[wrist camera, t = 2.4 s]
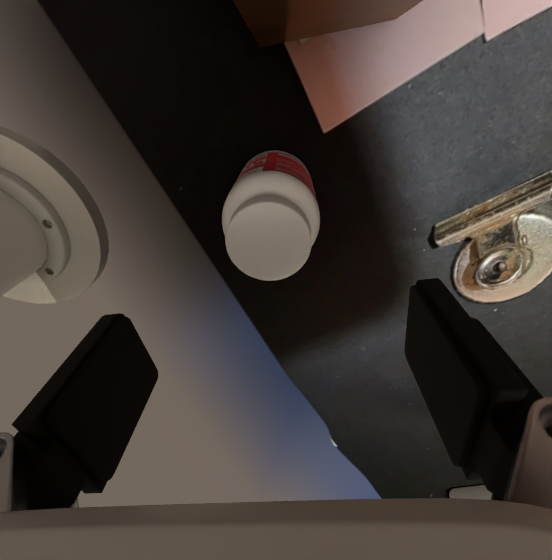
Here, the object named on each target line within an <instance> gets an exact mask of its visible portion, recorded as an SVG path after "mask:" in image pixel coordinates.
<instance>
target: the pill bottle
mask: <svg viewBox="0 0 552 560" xmlns="http://www.w3.org/2000/svg"><path fill="white" fill-rule="evenodd" d="M222 226H223V231H224V234H225V243H226V249H227V252H228V255H229V257H230V258H231V260H232V262H233V263H234V264H235V265H236V266H237V268H239V269H240V270H241V271H242V272H244V273H245V274H247V275H249V276H251V277H253V278H256V279H260V280H280V279H283V278H286V277H289V276H290V275H292V274H294V273H296V272H297V271H298V270H299V269H300V268H301V267H302V266H303V265H304V264H305V262H306V261H307V259H308V257H309V254H310V251H311V247H312V245H313V244H314V242H315V240H316V238H317V235H318V231H319V226H320V213H319V208H318V204H317V200H316V196H315V192H314V188H313V184H312V180H311V177H310V174H309V172H308V170H307V169H306V167H305V166H304V164H303V163H302V162H301V161H300V160H299V159H298V158H296V157H295V156H293V155H291V154H289V153H287V152H283V151H276V150H273V151H266V152H263V153H260V154H258V155H257V156H255V157H253V158H252V159H251V160H250V161H249V162H248V163H247V164H246V165H245V167H244V168H243V170H242V172H241V173H240V175H239V177H238V179H237V180H236V182H235V184H234V185H233V187H232V189H231V191H230V193H229V194H228V196H227V199H226V201H225V204H224V207H223V212H222Z"/></svg>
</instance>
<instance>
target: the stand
mask: <svg viewBox="0 0 552 560" xmlns="http://www.w3.org/2000/svg"><path fill="white" fill-rule="evenodd" d="M421 1H423V0H233V2H234V3H235V5H236V7H237V9H238V10H239V12H240V14H241V15H242V17H243V19H244V21H245V22H246V24H247V26H248V28H249V29H250V31H251V33H252V35H253V36H254V38H255V40H256V42H257V43H258V45H259V47H260V48H261V47H266V46H270V45H275V44H280V43H285V42H289V41H294V40H299V39H304V38H308V37H313V36H318V35H322V34H327V33H332V32H337V31H341V30H346V29H351V28H356V27H360V26H365V25H370V24H374V23H379V22H384V21H389V20H393V19H396V18H398V17H399V16H401V15H402V14H404V13H405V12H407V11H408V10H409V9H411V8H412V7H414V6H415V5H417V4H418V3H420V2H421Z"/></svg>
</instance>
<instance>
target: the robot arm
mask: <svg viewBox="0 0 552 560" xmlns="http://www.w3.org/2000/svg"><path fill="white" fill-rule="evenodd" d="M69 257H70V242H69V237H68V234H67V231H66V228H65V226H64V224H63V222H62V220H61V218H60V216H59V215H58V214H57V212H56V211H55V209H54V208H53V207H52V205H51V204H50V203H49V202H48V201H47V200H46V199H45V198H44V197H43V196H42V195H41V193H39V192H38V191H37V190H36V189H35V188H33V187H32V186H31V185H30V184H28V183H27V182H26V181H24V180H23V179H21V178H19V177H18V176H16V175H15V174H13V173H11V172H9V171H7V170H4V169H2V168H0V297H1V296H2V295H4V294H5V293H6V292H8V291H9V290H11V289H12V288H13V287H15V286H20V287H35V286H39V285H43V284H46V283H48V282H50V281H52V280H53V279H54V278H56V277H57V276H58V275H59V274H61V272H62V271H63V270H64V269H65V268H66V266H67V263H68V261H69ZM405 355H406V359H407V361H408V363H409V366H410V368H411V370H412V372H413V375H414V377H415V379H416V382H417V384H418V386H419V388H420V391H421V393H422V395H423V397H424V400H425V402H426V404H427V406H428V409H429V411H430V413H431V416H432V418H433V420H434V422H435V425H436V427H437V429H438V431H439V434H440V436H441V438H442V440H443V443H444V445H445V447H446V450H447V452H448V454H449V456H450V459H451V461H452V462H453V464H454V465H455V466H461V468H462V470H463V472H464V474H465V476H466V479H467V480H473V479H482V480H483V482H484V484H485V486H486V488H487V490H488V491H489V492H491V493H492V496H491V500H480V499H457V498H439V499H359V500H358V499H357V500H356V499H355V500H317V501H316V500H314V501H273V502H239V503H207V504H206V503H205V504H173V505H142V506H114V507H86V508H79V506H78V498H77V497H78V495H79V493H80V491H81V490H82V491H83V492H84V493H102V491H103V489H104V487H105V485H106V483H107V481H108V480H110V479H111V478H112V476H113V475H114V473H115V471H116V469H117V466H118V464H119V462H120V460H121V458H122V456H123V453H124V451H125V449H126V447H127V445H128V442H129V440H130V438H131V436H132V434H133V432H134V429H135V427H136V425H137V423H138V421H139V419H140V416H141V414H142V412H143V410H144V408H145V405H146V403H147V401H148V399H149V397H150V395H151V392H152V390H153V388H154V386H155V384H156V381H157V379H158V370H157V368H156V366H155V364H154V363H153V361H152V359H151V357H150V355H149V353H148V351H147V350H146V348H145V346H144V344H143V342H142V340H141V339H140V337H139V335H138V333H137V331H136V329H135V327H134V326H133V324H132V322H131V320H130V319H129V318H128V317H125V316H124V315H123V314H112V315H104V316H102V318H100V319H99V321H98V322H97V323H96V324H95V325H94V327H93V328H92V329H91V330H90V331H89V333H88V334H87V335H86V336H85V337H84V339H83V340H82V341H81V342H80V344H79V345H78V346H77V347H76V348H75V349H74V351H73V352H72V353H71V354H70V355H69V357H68V358H67V359H66V360H65V361H64V363H63V364H62V365H61V366H60V367H59V368H58V370H57V371H56V372H55V373H54V375H53V376H52V377H51V378H50V379H49V380H48V382H47V383H46V384H45V385H44V387H43V388H42V389H41V390H40V391H39V392H38V394H37V395H36V396H35V397H34V398H33V400H32V401H31V402H30V403H29V404H28V406H27V407H26V408H25V409H24V411H23V412H22V413H21V414H20V415H19V416H18V418H17V419H16V420H15V421H14V422H13V424H12V425H13V426H14V427H15V428H16V429H17V430H18V433H17V434H16V435H15V436H14V437H13V436H12V435H11V434H9V433H3V432H1V433H0V560H552V397H547V398H543V397H542V395H541V394H540V393H539V392H538V391H537V389H536V388H535V387H534V386H533V385H532V383H531V382H530V381H529V380H528V379H527V377H526V376H525V375H524V374H523V373H522V371H521V370H520V369H519V368H518V367H517V365H516V364H515V363H514V362H513V361H512V359H511V358H510V357H509V356H508V355H507V353H506V352H505V351H504V350H503V349H502V347H501V346H500V345H499V344H498V343H497V341H496V340H495V339H494V338H493V337H492V335H491V334H490V333H489V332H488V331H487V329H486V328H485V327H484V326H483V325H482V323H481V322H479V321H478V320H477V319H475V318H471V317H470V316H469V315H468V314H467V312H466V311H465V310H464V309H463V307H462V306H461V305H460V304H459V302H458V301H457V300H456V299H455V298H454V296H453V295H452V294H451V293H450V291H449V290H448V289H447V288H446V286H445V285H444V284H443V283H442V281H441V280H440V279H438V278H433V279H425V280H418V281H417V282H416V285H413V286H411V287H410V295H409V306H408V317H407V328H406V339H405Z"/></svg>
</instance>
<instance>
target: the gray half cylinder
mask: <svg viewBox="0 0 552 560" xmlns="http://www.w3.org/2000/svg"><path fill="white" fill-rule="evenodd" d="M491 496H492V493H491V492H489V491H488V490H487V488H486V486H485V485H479V486H471V487H462V488H454V489H452V490H451V491H450V493H449V498H457V499H480V500H491Z"/></svg>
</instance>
